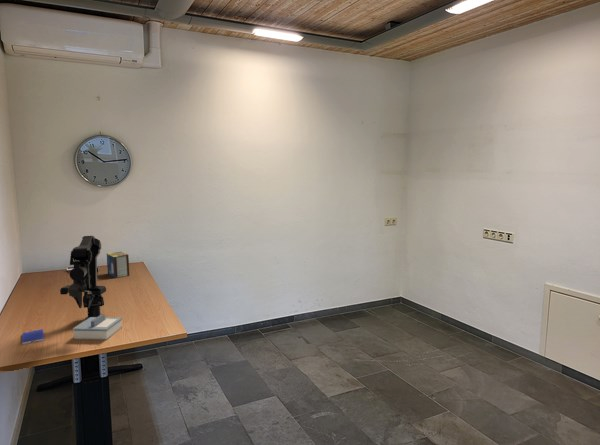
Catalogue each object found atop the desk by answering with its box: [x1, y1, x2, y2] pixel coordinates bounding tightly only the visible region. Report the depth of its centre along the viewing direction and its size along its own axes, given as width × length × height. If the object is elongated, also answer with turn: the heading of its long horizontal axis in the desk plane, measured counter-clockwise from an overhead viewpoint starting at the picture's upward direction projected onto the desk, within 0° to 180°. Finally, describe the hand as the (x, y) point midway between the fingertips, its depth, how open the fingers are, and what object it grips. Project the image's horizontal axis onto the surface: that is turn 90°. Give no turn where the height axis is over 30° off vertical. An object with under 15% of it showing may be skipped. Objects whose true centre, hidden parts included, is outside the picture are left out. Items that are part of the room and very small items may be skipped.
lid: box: [72, 314, 123, 331], centre depth 188 cm, size 14×15×3 cm
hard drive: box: [21, 328, 45, 345], centre depth 184 cm, size 2×8×12 cm
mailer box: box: [73, 319, 123, 341], centre depth 189 cm, size 14×15×4 cm
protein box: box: [106, 251, 131, 279], centre depth 294 cm, size 10×15×16 cm
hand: (84, 308), depth 188 cm, fingers open, 3 cm apart
